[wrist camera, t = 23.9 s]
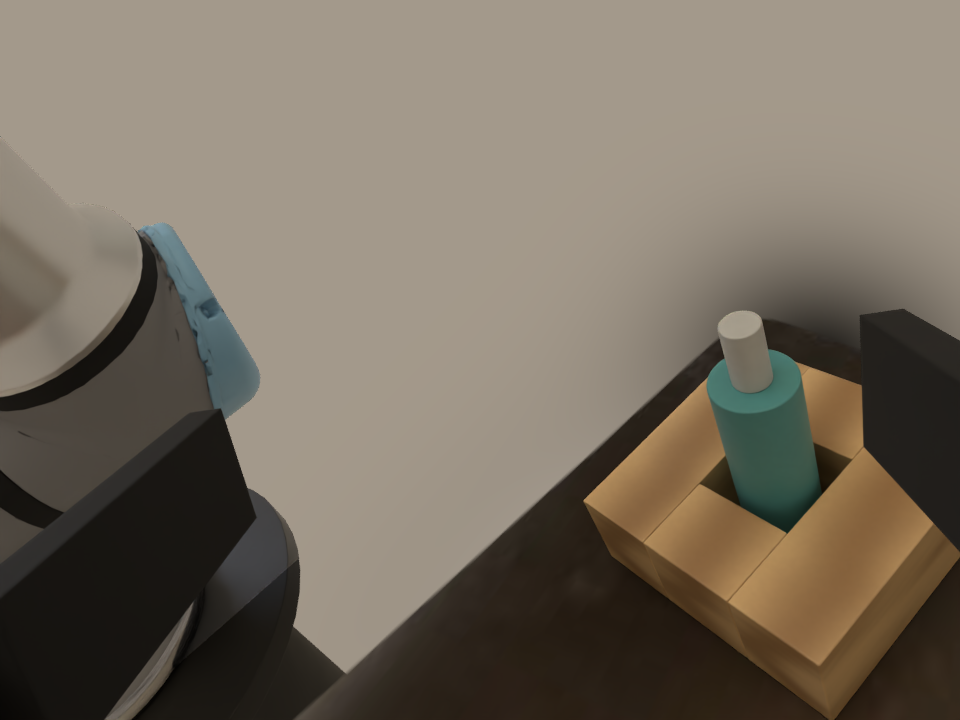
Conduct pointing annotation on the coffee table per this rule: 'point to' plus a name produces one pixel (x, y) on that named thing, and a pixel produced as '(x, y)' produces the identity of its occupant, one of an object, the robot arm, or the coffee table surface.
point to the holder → (778, 546)
